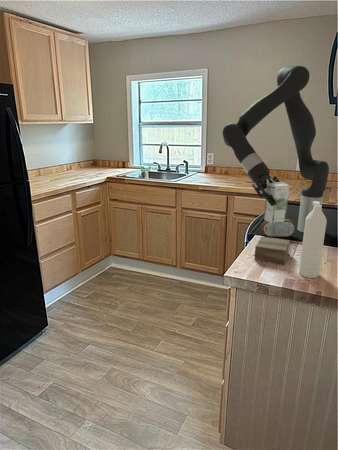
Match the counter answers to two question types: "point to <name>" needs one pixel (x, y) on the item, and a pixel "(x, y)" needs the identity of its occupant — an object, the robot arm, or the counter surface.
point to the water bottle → (313, 242)
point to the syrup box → (277, 203)
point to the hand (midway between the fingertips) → (279, 202)
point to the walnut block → (272, 250)
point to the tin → (278, 228)
